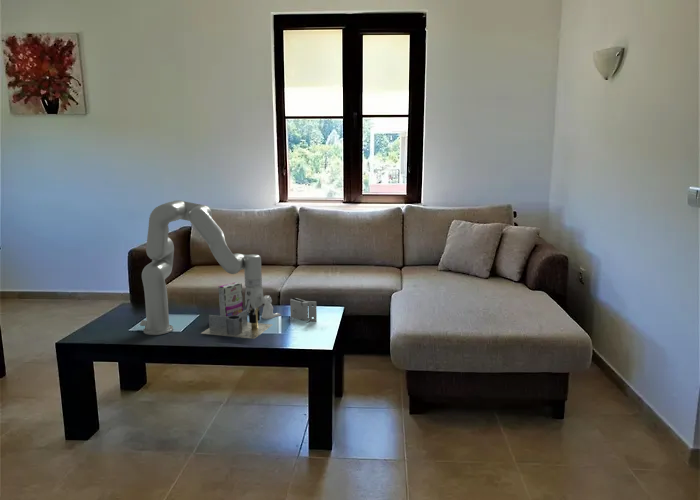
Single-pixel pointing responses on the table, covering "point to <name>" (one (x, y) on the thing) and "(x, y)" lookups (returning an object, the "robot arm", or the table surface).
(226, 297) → the candy bar box
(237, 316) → the grey walled base plate
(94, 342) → the table surface
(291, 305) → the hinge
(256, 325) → the pin
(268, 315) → the seated beast figurine
